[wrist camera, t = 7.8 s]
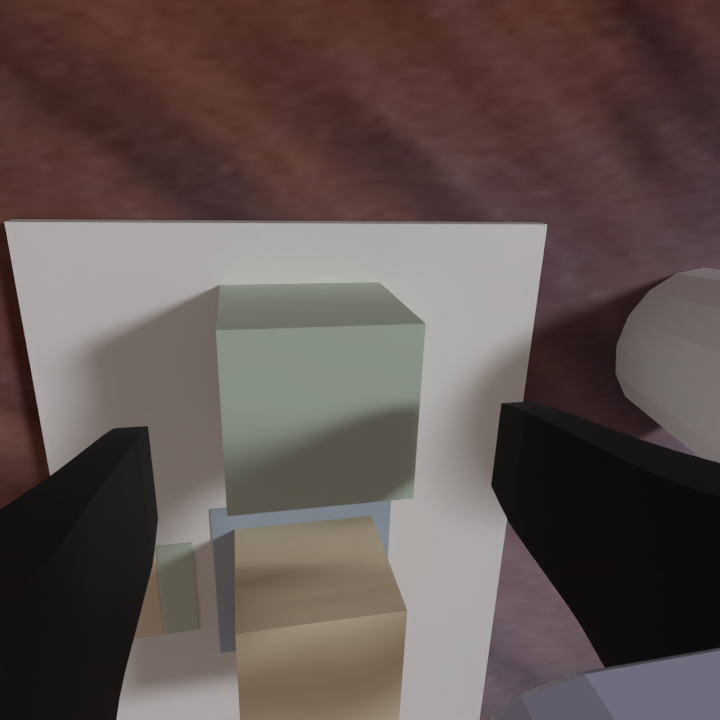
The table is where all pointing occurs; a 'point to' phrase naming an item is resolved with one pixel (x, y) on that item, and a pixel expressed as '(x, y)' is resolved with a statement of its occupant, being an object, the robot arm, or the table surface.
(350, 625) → the maple block
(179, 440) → the blueprint baseplate
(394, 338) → the sage block
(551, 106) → the table surface
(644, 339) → the white tumbler
